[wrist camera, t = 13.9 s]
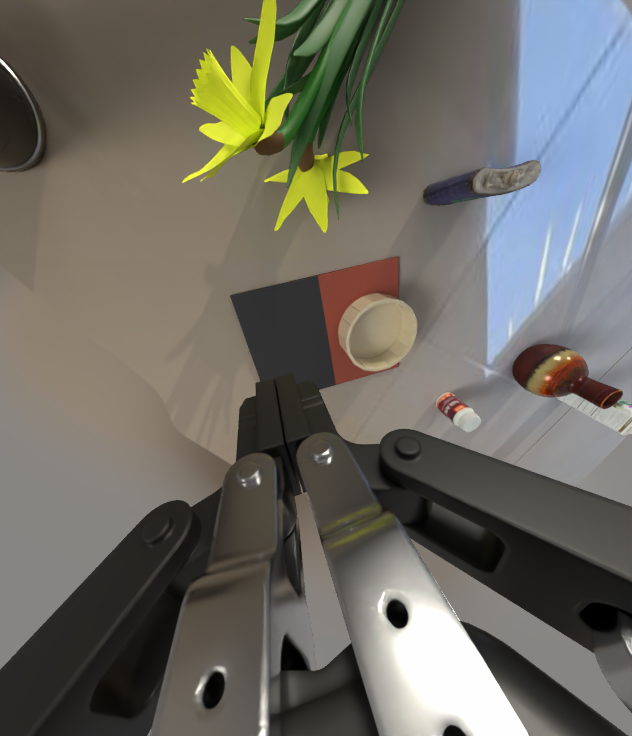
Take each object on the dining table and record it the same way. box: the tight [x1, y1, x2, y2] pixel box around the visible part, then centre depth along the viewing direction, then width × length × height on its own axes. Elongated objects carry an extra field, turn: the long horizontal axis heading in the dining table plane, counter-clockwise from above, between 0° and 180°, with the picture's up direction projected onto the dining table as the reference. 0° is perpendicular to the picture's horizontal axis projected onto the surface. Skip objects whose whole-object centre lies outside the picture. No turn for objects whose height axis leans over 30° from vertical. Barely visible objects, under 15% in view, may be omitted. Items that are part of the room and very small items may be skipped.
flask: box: [423, 160, 541, 206], centre depth 30 cm, size 9×3×11 cm, turn 100°
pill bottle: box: [436, 392, 481, 432], centre depth 52 cm, size 5×5×8 cm
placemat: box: [230, 257, 399, 390], centre depth 41 cm, size 26×20×1 cm
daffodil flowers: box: [182, 0, 405, 233], centre depth 21 cm, size 17×15×35 cm
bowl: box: [338, 293, 417, 371], centre depth 40 cm, size 12×12×4 cm
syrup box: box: [556, 394, 632, 435], centre depth 59 cm, size 6×6×14 cm
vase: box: [513, 344, 623, 409], centre depth 49 cm, size 11×11×15 cm
